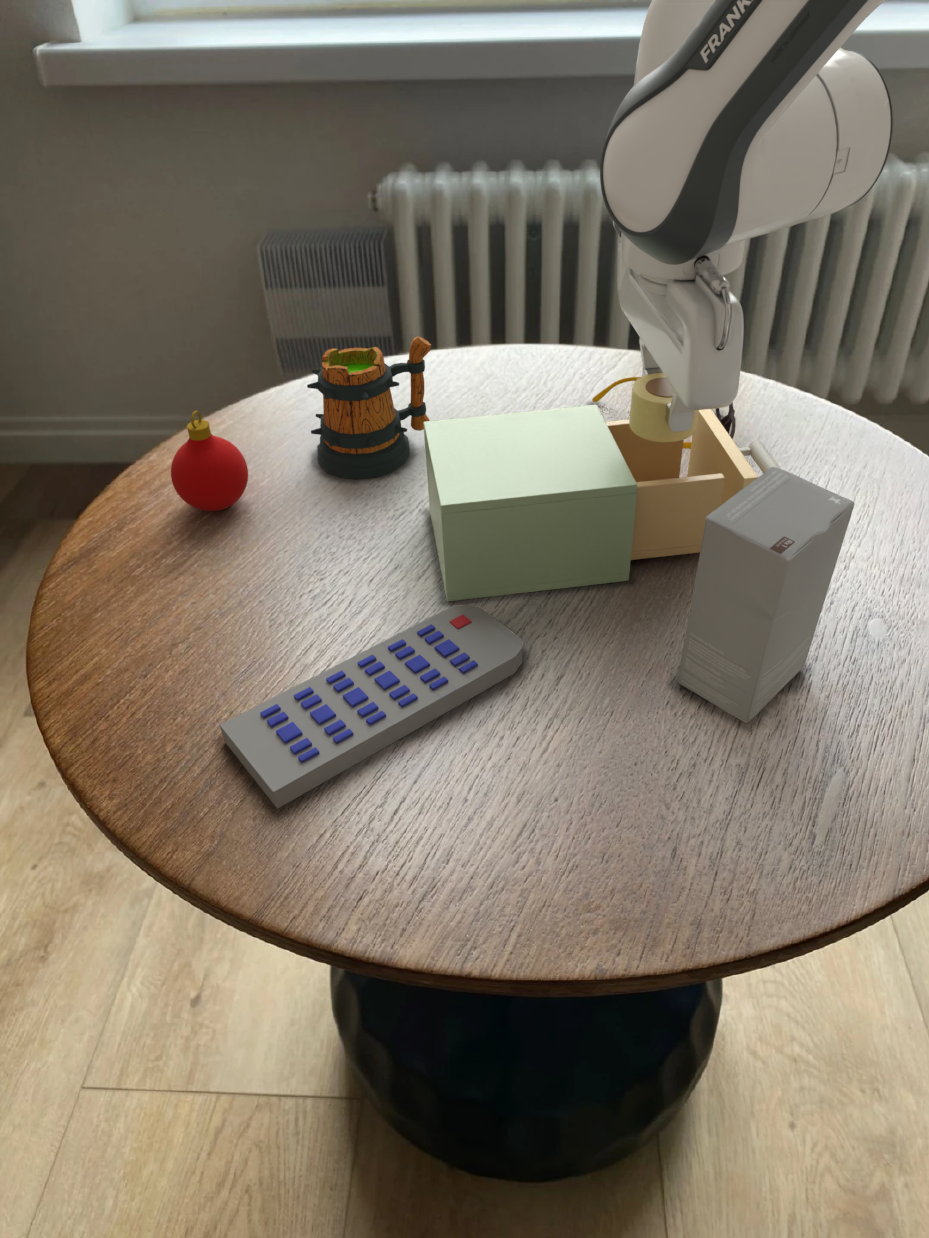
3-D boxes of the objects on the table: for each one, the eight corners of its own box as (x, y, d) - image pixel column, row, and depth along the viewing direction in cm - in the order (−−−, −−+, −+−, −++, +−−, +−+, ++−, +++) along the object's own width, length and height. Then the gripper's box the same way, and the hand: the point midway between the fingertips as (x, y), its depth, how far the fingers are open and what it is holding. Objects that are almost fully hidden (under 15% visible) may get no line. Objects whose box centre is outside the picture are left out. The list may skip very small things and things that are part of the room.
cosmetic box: (734, 631, 77) (766, 457, 66) (815, 674, 72) (863, 495, 62) (669, 685, 72) (694, 508, 62) (752, 734, 68) (793, 552, 58)
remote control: (224, 742, 70) (218, 721, 68) (472, 612, 80) (470, 592, 78) (277, 810, 65) (271, 789, 63) (534, 663, 75) (534, 641, 73)
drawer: (742, 474, 92) (754, 400, 87) (792, 549, 83) (810, 471, 78) (549, 495, 91) (550, 421, 86) (578, 574, 82) (581, 496, 76)
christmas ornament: (200, 482, 97) (177, 391, 90) (265, 488, 95) (246, 396, 89) (167, 521, 92) (140, 428, 85) (236, 529, 90) (214, 434, 84)
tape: (684, 407, 83) (689, 368, 81) (705, 439, 79) (710, 399, 76) (621, 413, 82) (624, 375, 80) (639, 445, 78) (643, 405, 76)
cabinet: (591, 495, 92) (596, 404, 86) (629, 581, 82) (637, 484, 76) (429, 512, 91) (423, 421, 85) (446, 602, 81) (440, 505, 75)
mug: (326, 489, 95) (310, 381, 87) (306, 441, 102) (289, 337, 95) (452, 463, 98) (446, 356, 90) (423, 418, 105) (415, 315, 98)
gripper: (779, 285, 63) (747, 468, 72) (683, 191, 78) (666, 351, 87) (685, 293, 62) (664, 477, 71) (607, 197, 78) (598, 357, 87)
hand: (665, 406), depth 79 cm, fingers closed on tape, 5 cm apart
